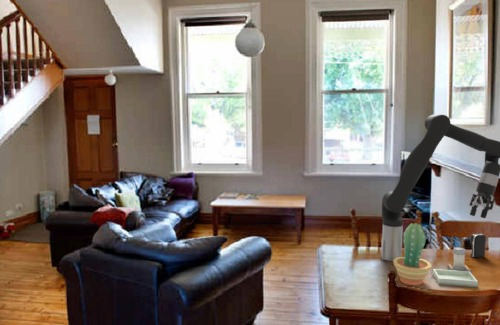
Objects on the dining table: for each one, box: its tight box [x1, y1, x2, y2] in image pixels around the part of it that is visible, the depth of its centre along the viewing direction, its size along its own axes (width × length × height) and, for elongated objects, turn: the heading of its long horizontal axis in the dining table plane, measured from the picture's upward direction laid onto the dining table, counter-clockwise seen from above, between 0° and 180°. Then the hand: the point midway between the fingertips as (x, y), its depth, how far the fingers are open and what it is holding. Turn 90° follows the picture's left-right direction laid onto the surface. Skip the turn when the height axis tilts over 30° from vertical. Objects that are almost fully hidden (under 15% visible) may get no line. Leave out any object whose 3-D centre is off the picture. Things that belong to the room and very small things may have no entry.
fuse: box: [452, 246, 466, 270], centre depth 185 cm, size 5×5×10 cm
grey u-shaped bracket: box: [447, 263, 473, 273], centre depth 185 cm, size 8×9×2 cm
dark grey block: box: [469, 233, 487, 259], centre depth 204 cm, size 7×4×11 cm, turn 107°
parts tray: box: [432, 268, 479, 288], centre depth 174 cm, size 15×11×2 cm
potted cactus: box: [392, 222, 432, 286], centre depth 173 cm, size 15×15×25 cm
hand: (477, 216), depth 192 cm, fingers open, 8 cm apart
